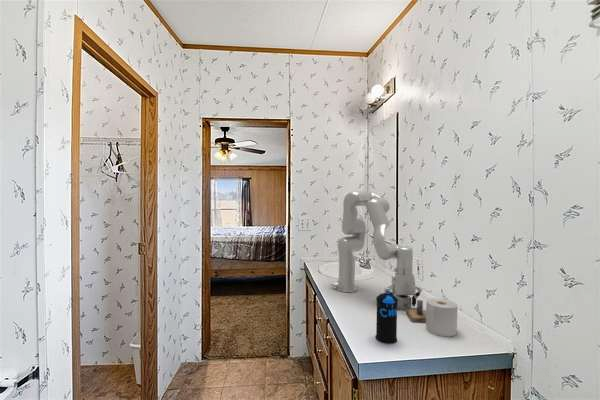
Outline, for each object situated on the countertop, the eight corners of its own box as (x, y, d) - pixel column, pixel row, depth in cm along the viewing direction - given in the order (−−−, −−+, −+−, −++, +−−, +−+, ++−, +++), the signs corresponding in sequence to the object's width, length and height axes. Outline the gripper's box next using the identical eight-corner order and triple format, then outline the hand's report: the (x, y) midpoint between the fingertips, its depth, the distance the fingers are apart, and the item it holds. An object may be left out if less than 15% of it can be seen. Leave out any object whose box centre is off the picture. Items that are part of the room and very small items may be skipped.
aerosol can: (372, 334, 124) (373, 285, 124) (392, 333, 125) (393, 285, 124) (379, 344, 116) (380, 291, 116) (400, 343, 117) (401, 291, 116)
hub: (398, 310, 150) (399, 298, 150) (395, 305, 157) (395, 294, 157) (412, 310, 150) (412, 298, 150) (408, 306, 156) (408, 294, 156)
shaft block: (411, 322, 136) (412, 304, 136) (405, 313, 146) (405, 297, 146) (434, 323, 136) (435, 305, 136) (426, 314, 146) (427, 297, 146)
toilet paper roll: (445, 323, 136) (446, 297, 135) (463, 336, 124) (464, 307, 124) (420, 324, 134) (420, 298, 134) (436, 337, 122) (436, 308, 122)
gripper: (388, 272, 150) (387, 307, 150) (424, 273, 149) (423, 308, 149) (385, 269, 157) (384, 302, 158) (419, 269, 156) (418, 303, 156)
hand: (403, 305), depth 153 cm, fingers open, 9 cm apart
